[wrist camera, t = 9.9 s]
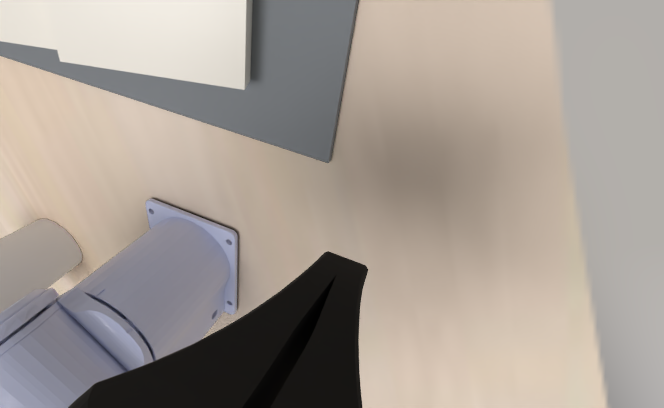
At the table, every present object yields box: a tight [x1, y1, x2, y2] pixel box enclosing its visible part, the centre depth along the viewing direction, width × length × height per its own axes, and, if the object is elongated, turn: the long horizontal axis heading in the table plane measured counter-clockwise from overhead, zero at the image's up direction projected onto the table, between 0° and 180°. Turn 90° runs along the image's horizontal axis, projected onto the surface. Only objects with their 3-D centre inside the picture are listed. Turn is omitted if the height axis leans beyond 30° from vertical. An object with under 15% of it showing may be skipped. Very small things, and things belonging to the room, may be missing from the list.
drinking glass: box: [0, 219, 82, 313], centre depth 34 cm, size 7×7×10 cm
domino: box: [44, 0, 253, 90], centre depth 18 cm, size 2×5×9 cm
